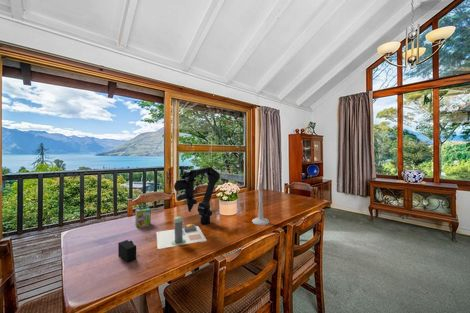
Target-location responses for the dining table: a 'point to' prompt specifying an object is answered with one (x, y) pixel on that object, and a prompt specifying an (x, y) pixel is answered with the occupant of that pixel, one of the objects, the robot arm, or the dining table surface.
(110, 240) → the dining table surface
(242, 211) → the dining table surface
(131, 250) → the digital camera
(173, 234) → the colouring board
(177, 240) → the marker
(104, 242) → the dining table surface
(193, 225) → the button housing
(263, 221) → the candlestick
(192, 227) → the button
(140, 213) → the chalk box
